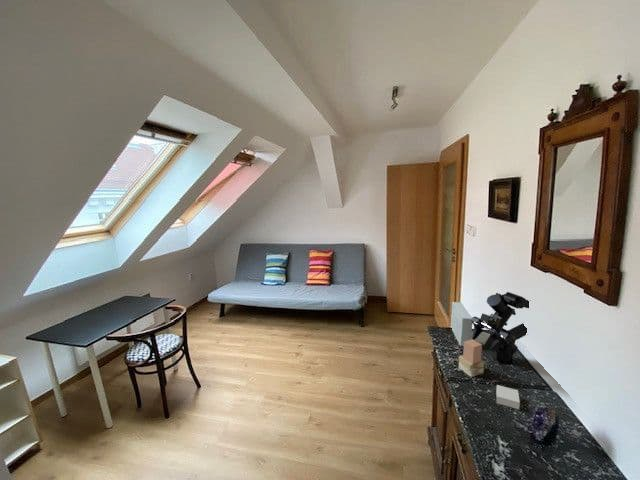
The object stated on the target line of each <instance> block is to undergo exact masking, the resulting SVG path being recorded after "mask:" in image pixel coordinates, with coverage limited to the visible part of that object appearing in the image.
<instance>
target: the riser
mask: <svg viewBox="0 0 640 480" xmlns="http://www.w3.org/2000/svg"><path fill="white" fill-rule="evenodd" d="M495 392H496V404H498V405H502V406H506V407H509V408H512V409H515V410H520V406H521V405H520V403H521V402H520V396H519V390H518V389H514V388H510V387H506V386H502V385H499V384H496V391H495Z"/></svg>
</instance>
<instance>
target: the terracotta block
mask: <svg viewBox="0 0 640 480" xmlns="http://www.w3.org/2000/svg"><path fill="white" fill-rule="evenodd" d="M482 349H483V345H482V344H480V343H478V342H476V341H475V340H473V339H471V340H468V341H465V342H464V346H463V350H462V351H463V353H462V355H463V358H464V359H466V360H467V361H469V362H470V363H472V364H475V363H477V362H480V361H481V360H482V355H483V354H482Z"/></svg>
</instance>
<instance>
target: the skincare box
mask: <svg viewBox="0 0 640 480" xmlns="http://www.w3.org/2000/svg"><path fill="white" fill-rule="evenodd" d="M472 317H473V316H472V315H471V314H470V313H469V311H468V310H467V308H466V307H465V306H464V304H463V303H462V302H459V301H457V302H456V301H452V303H451V315H450V318H451V319H450V328H452V329H451V330H452V332H453V334H454V336H455V338H456V340H457V342H458V344H459V347H464V342H465V341H468V340H471V334H472V332H473V323H472V321H471V319H472Z"/></svg>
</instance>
